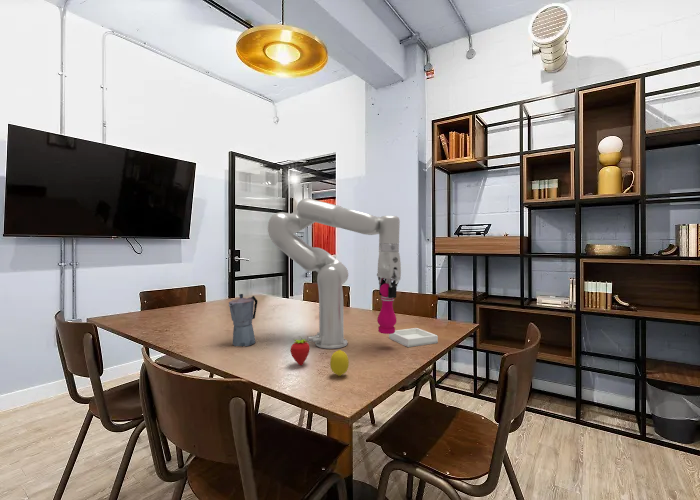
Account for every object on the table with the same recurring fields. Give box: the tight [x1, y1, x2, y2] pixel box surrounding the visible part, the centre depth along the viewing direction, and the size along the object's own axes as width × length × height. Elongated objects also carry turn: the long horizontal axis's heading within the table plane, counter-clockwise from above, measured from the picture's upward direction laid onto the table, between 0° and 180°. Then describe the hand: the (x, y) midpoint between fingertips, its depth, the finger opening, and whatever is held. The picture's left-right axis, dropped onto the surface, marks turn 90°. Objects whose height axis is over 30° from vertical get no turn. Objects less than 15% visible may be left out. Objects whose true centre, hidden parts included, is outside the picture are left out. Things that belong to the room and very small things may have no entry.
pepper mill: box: [376, 279, 398, 335], centre depth 134 cm, size 7×7×20 cm
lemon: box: [329, 349, 350, 377], centre depth 106 cm, size 6×6×8 cm
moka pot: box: [228, 293, 258, 348], centre depth 141 cm, size 10×15×20 cm, turn 158°
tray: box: [388, 327, 439, 348], centre depth 145 cm, size 14×14×3 cm
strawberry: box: [290, 337, 311, 367], centre depth 116 cm, size 6×8×10 cm
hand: (387, 295), depth 134 cm, fingers closed on pepper mill, 5 cm apart
